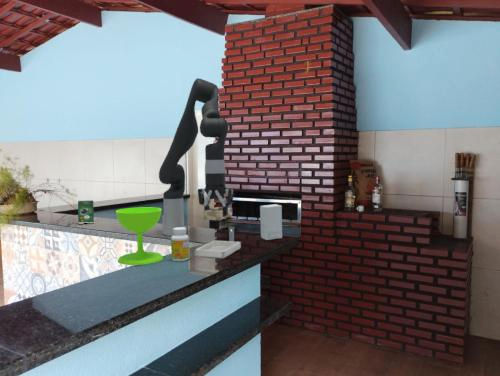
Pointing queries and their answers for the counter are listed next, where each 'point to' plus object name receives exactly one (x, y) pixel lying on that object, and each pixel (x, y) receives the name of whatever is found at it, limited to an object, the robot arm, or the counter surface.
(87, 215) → the coffee box
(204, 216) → the tan irregular block
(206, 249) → the tray
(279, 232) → the skincare box
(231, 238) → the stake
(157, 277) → the counter surface
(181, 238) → the supplement bottle
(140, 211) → the wineglass
